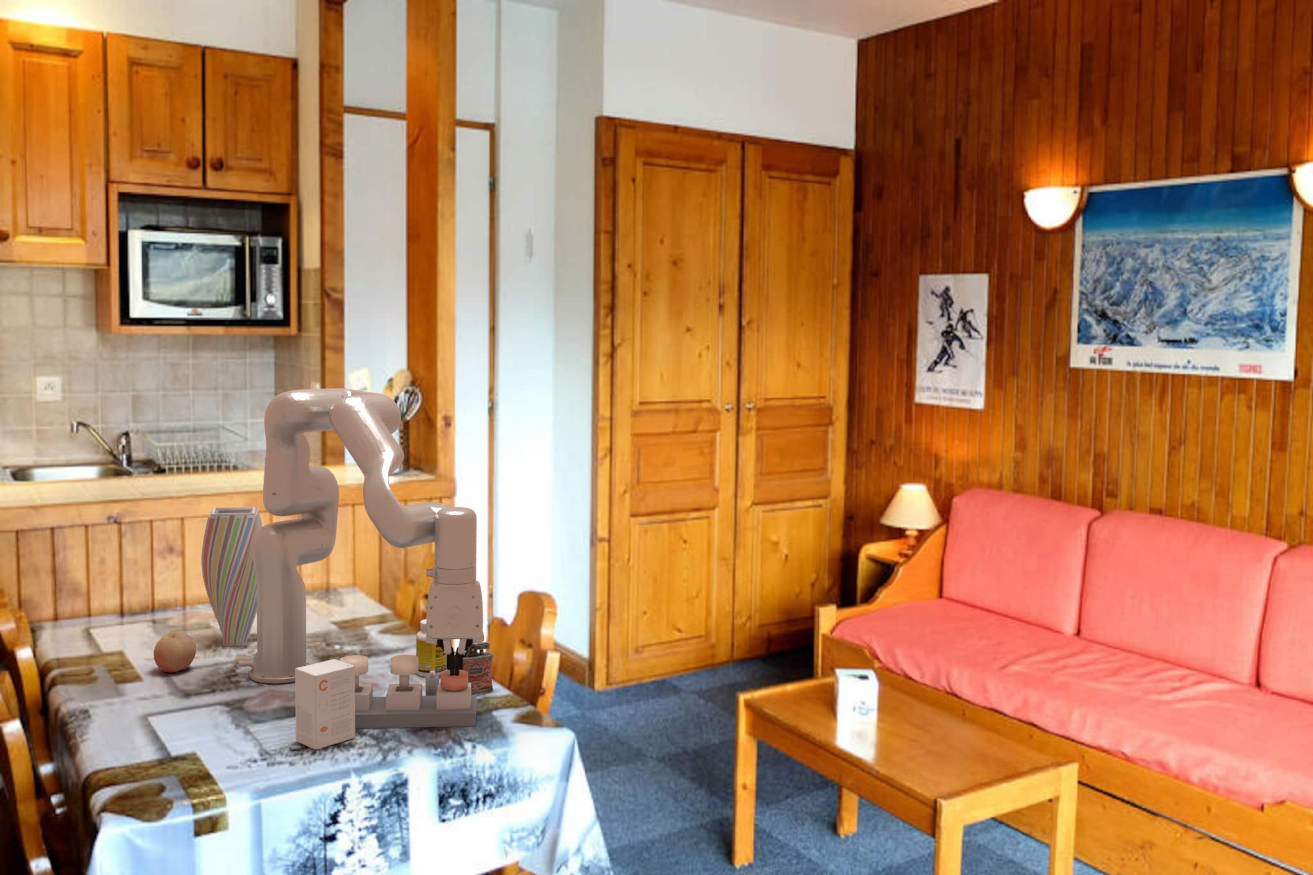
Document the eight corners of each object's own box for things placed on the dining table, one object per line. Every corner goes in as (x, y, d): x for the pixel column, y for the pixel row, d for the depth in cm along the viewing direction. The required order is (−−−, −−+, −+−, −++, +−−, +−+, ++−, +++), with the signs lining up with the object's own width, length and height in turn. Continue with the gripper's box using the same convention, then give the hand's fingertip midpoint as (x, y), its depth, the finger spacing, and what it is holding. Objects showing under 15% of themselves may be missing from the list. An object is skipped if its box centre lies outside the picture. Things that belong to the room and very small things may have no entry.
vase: (267, 633, 264) (266, 505, 262) (266, 648, 252) (265, 514, 249) (204, 636, 260) (203, 506, 257) (200, 652, 247) (199, 516, 244)
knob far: (439, 706, 207) (439, 677, 207) (441, 697, 212) (441, 669, 212) (467, 706, 208) (467, 677, 208) (468, 697, 213) (468, 669, 212)
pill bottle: (439, 678, 233) (439, 626, 232) (411, 676, 234) (411, 623, 233) (450, 670, 239) (451, 618, 238) (423, 667, 240) (423, 616, 239)
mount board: (327, 728, 203) (327, 698, 202) (335, 710, 213) (335, 681, 212) (475, 726, 206) (475, 696, 206) (476, 707, 216) (476, 679, 215)
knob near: (337, 692, 205) (337, 663, 204) (341, 683, 210) (341, 655, 209) (366, 692, 205) (366, 662, 205) (369, 683, 210) (369, 654, 210)
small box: (334, 729, 203) (334, 657, 201) (356, 738, 198) (356, 665, 197) (294, 741, 196) (294, 667, 195) (315, 750, 192) (315, 675, 191)
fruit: (147, 670, 234) (146, 632, 233) (185, 662, 240) (185, 625, 239) (164, 679, 229) (163, 640, 228) (203, 671, 234) (202, 633, 234)
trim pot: (424, 705, 217) (425, 673, 216) (425, 700, 219) (426, 669, 219) (438, 704, 217) (439, 673, 217) (439, 700, 220) (439, 669, 219)
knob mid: (389, 691, 206) (389, 662, 205) (391, 683, 211) (392, 654, 210) (417, 691, 207) (417, 662, 206) (419, 682, 212) (419, 654, 211)
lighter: (455, 697, 222) (456, 647, 221) (450, 692, 225) (451, 642, 224) (495, 692, 226) (495, 642, 225) (489, 687, 228) (490, 638, 228)
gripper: (411, 580, 203) (411, 680, 205) (496, 579, 205) (495, 679, 207) (415, 571, 211) (415, 668, 212) (497, 570, 213) (496, 667, 214)
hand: (454, 673), depth 210 cm, fingers closed
